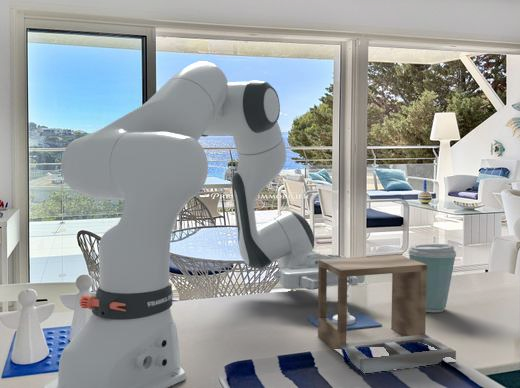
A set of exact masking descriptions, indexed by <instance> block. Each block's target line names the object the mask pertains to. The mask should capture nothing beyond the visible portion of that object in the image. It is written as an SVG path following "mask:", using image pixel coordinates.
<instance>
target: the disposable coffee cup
mask: <svg viewBox="0 0 520 388" xmlns="http://www.w3.org/2000/svg"><path fill="white" fill-rule="evenodd" d="M407 253H408V256H409V259H412V260H415V261H418V262H421V263H424V264H427V283H426V313H442V312H444V311H445V310H446V307H447V302H448V297H449V292H450V287H451V281H452V275H453V270H454V265H455V264H454V263H455V259H456V257H457V252H456V251H455V246H454V245H453V244H449V243H424V244H415V245H411V247H408V251H407Z"/></svg>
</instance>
